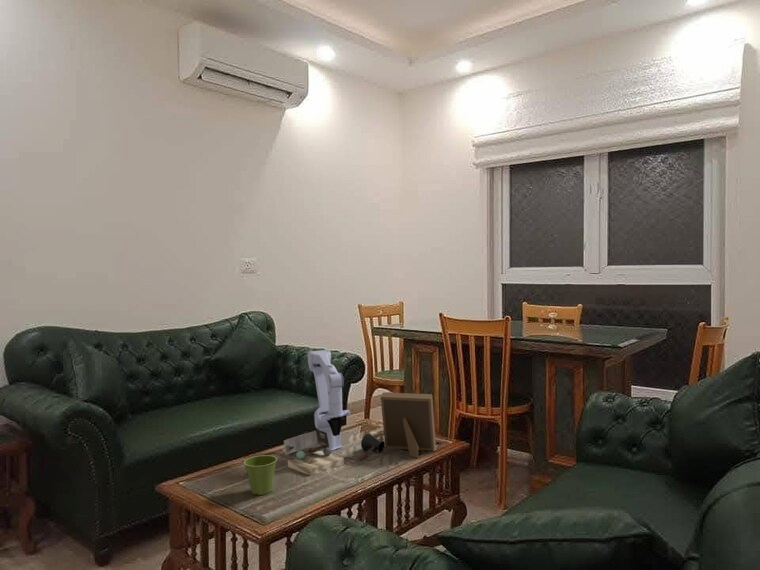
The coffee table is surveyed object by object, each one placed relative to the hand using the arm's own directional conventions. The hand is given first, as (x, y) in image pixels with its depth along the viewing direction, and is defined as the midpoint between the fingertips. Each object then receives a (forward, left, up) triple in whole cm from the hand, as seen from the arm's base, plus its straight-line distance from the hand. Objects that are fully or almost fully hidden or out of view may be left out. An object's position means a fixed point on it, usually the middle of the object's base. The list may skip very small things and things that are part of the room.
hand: (336, 435), depth 233 cm
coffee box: (+14, -14, -6) cm, 21 cm away
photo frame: (-26, +16, -10) cm, 32 cm away
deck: (+11, 0, -10) cm, 15 cm away
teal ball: (+15, -5, -6) cm, 17 cm away
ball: (+5, 0, -6) cm, 7 cm away
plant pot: (+41, +6, -10) cm, 43 cm away
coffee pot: (-13, +5, -10) cm, 17 cm away
